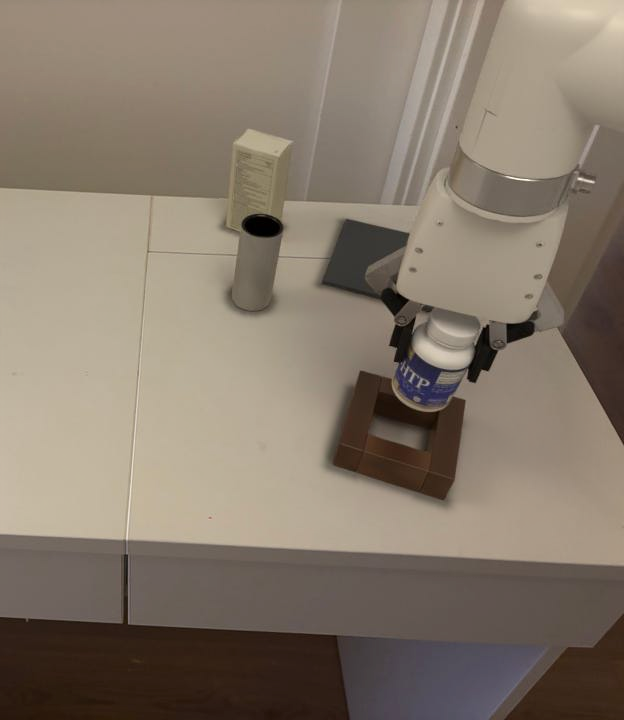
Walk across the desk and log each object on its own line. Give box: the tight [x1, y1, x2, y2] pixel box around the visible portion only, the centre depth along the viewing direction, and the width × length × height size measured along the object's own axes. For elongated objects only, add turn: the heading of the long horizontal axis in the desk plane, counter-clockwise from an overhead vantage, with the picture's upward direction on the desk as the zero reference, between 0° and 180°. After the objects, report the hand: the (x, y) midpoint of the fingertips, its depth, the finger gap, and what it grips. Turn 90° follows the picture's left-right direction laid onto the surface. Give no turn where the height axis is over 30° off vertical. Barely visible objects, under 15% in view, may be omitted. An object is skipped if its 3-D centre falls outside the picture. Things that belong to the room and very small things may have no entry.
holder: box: [332, 370, 467, 501], centre depth 71 cm, size 10×10×3 cm
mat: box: [321, 218, 435, 313], centre depth 92 cm, size 14×14×1 cm
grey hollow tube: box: [231, 214, 285, 312], centre depth 83 cm, size 4×4×10 cm
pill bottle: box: [391, 307, 481, 412], centre depth 64 cm, size 5×5×9 cm
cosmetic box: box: [225, 128, 294, 233], centre depth 93 cm, size 6×4×12 cm
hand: (436, 360), depth 64 cm, fingers closed on pill bottle, 5 cm apart
